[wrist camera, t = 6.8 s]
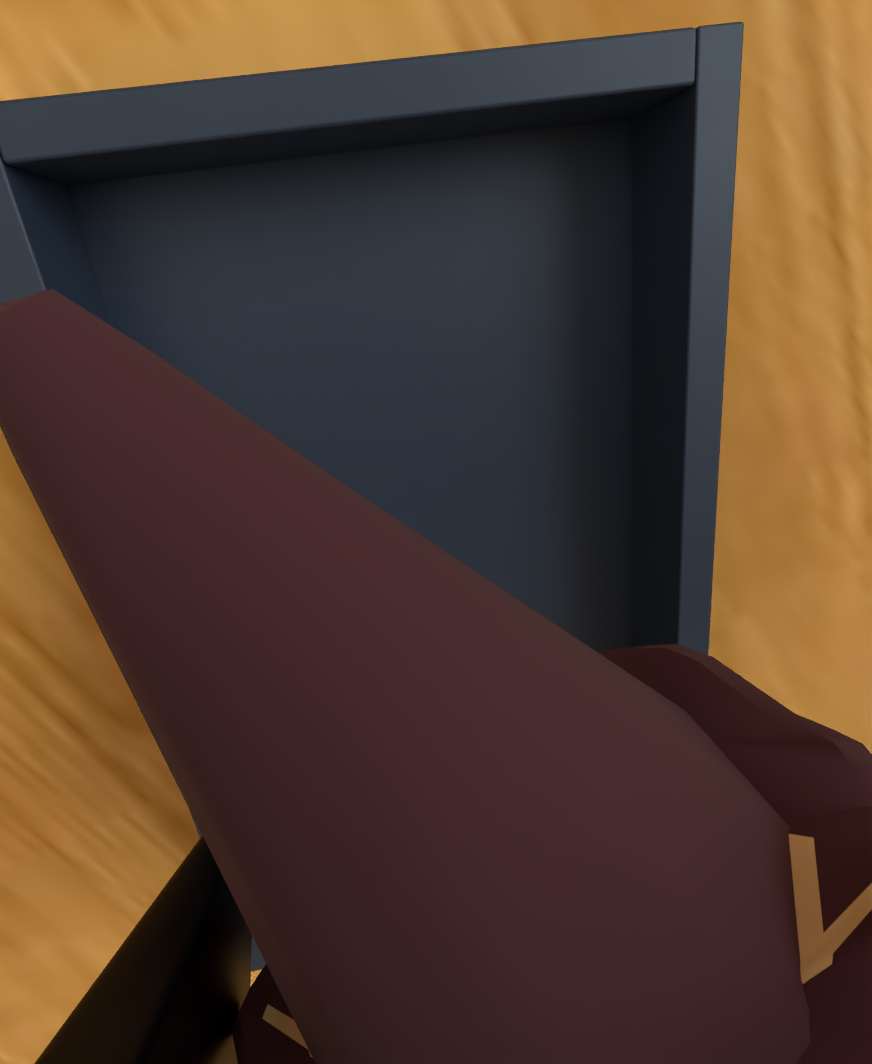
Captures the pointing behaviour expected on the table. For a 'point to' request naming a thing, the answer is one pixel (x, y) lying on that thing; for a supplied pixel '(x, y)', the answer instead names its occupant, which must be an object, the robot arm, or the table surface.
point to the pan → (435, 290)
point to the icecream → (439, 759)
